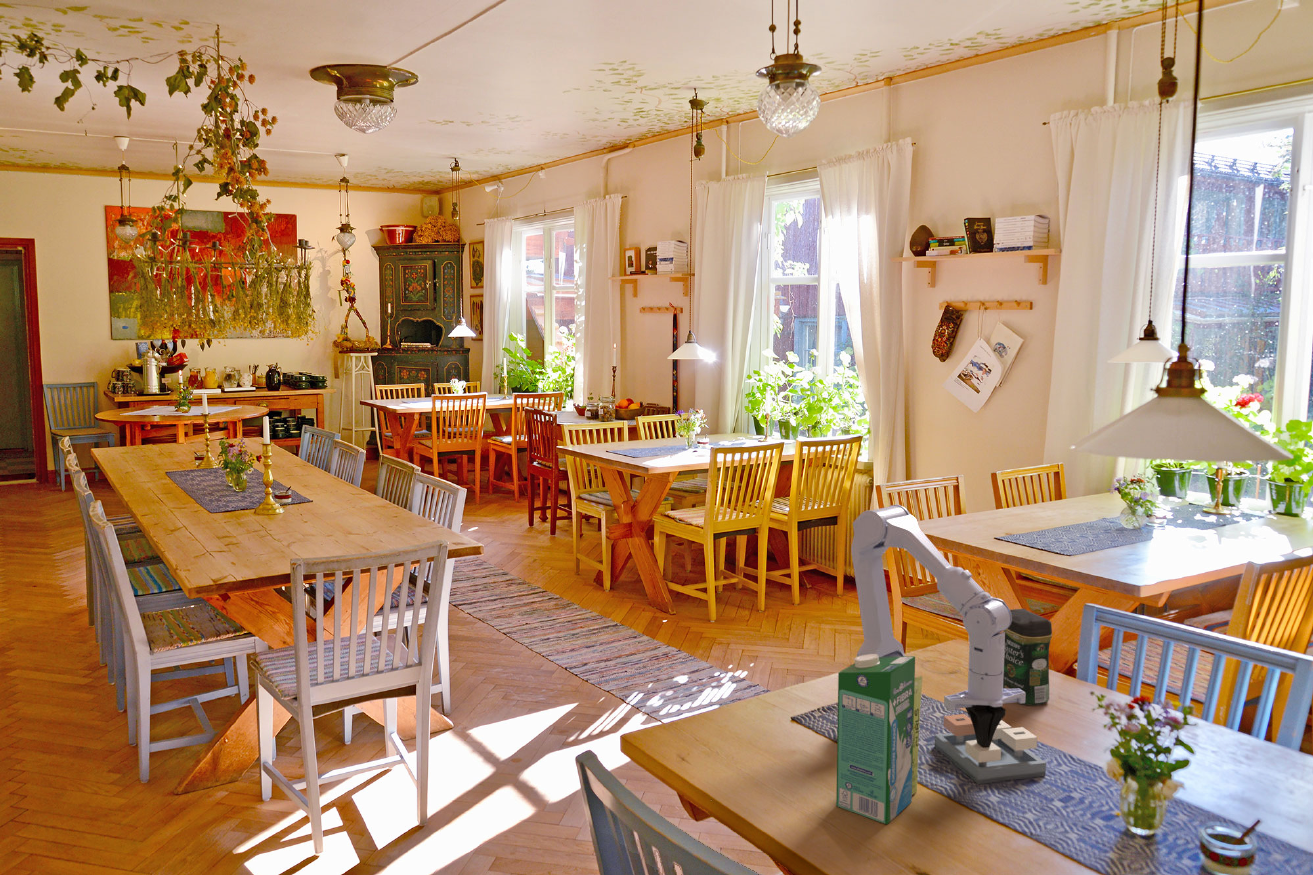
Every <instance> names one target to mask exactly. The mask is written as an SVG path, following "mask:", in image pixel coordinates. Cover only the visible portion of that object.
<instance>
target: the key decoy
mask: <svg viewBox="0 0 1313 875" xmlns="http://www.w3.org/2000/svg"><path fill="white" fill-rule="evenodd" d="M943 727H944V728H945V729H946V730H947V731H948V732H949V733H952V734H954V735H955V736H956V741H957V742H964V735H972V734H975V731H974V727H973V724H972V721H971V719H970V716H969V715H966V714H965V713H961V714H953V715H952V714H951V715H944V716H943Z"/></svg>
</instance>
